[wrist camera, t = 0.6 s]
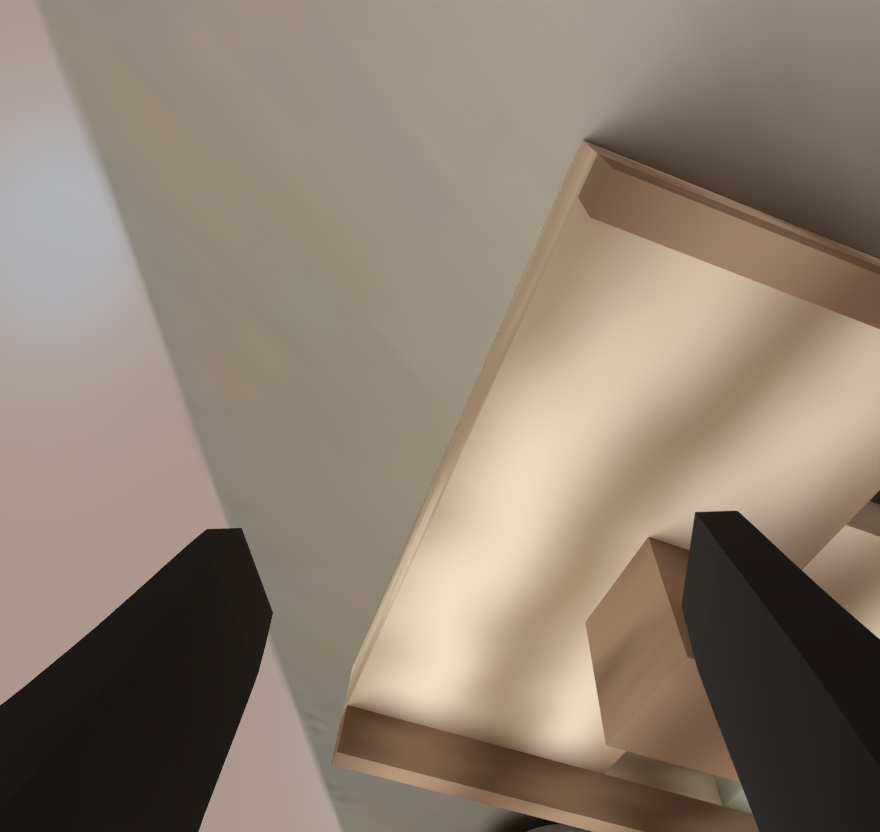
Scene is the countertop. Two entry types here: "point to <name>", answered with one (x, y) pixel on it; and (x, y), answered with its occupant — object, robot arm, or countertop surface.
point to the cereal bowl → (558, 828)
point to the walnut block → (653, 667)
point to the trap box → (621, 489)
